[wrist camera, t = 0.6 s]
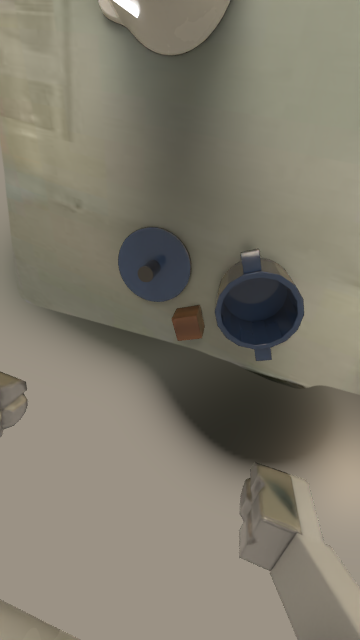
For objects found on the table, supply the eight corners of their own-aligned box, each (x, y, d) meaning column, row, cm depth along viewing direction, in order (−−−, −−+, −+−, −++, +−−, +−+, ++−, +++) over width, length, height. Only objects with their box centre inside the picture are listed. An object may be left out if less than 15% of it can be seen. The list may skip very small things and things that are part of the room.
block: (176, 308, 47) (171, 319, 43) (199, 304, 46) (196, 315, 42) (182, 329, 49) (177, 341, 45) (204, 326, 48) (201, 338, 44)
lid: (133, 304, 49) (122, 316, 44) (110, 236, 43) (94, 241, 38) (198, 293, 45) (194, 305, 40) (181, 218, 40) (173, 221, 35)
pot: (227, 339, 48) (225, 366, 41) (210, 249, 41) (204, 262, 34) (294, 332, 45) (306, 359, 37) (287, 233, 38) (300, 242, 30)
